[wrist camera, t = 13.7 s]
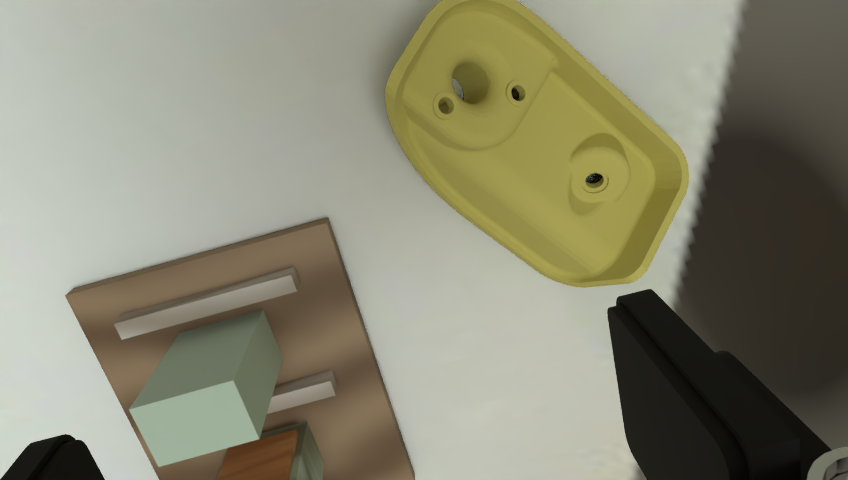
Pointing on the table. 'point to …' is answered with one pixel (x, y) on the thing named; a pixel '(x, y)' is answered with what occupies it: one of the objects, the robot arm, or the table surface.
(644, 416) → the robot arm
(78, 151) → the table surface
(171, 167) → the table surface
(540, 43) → the plastic component
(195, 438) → the sage green box
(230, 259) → the wooden base board
